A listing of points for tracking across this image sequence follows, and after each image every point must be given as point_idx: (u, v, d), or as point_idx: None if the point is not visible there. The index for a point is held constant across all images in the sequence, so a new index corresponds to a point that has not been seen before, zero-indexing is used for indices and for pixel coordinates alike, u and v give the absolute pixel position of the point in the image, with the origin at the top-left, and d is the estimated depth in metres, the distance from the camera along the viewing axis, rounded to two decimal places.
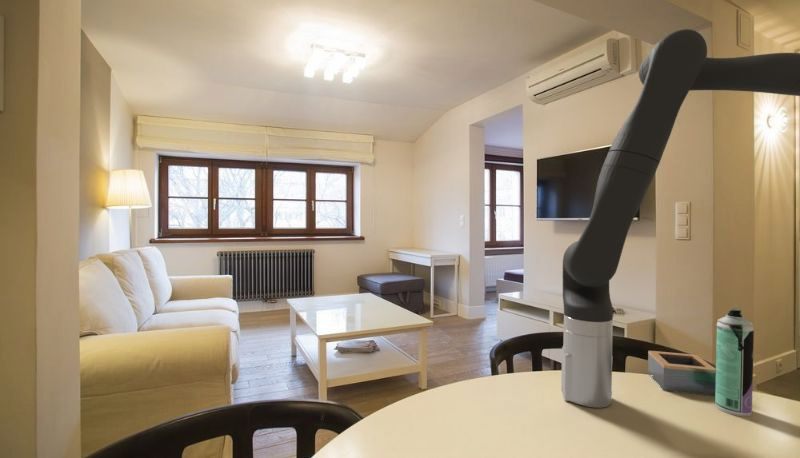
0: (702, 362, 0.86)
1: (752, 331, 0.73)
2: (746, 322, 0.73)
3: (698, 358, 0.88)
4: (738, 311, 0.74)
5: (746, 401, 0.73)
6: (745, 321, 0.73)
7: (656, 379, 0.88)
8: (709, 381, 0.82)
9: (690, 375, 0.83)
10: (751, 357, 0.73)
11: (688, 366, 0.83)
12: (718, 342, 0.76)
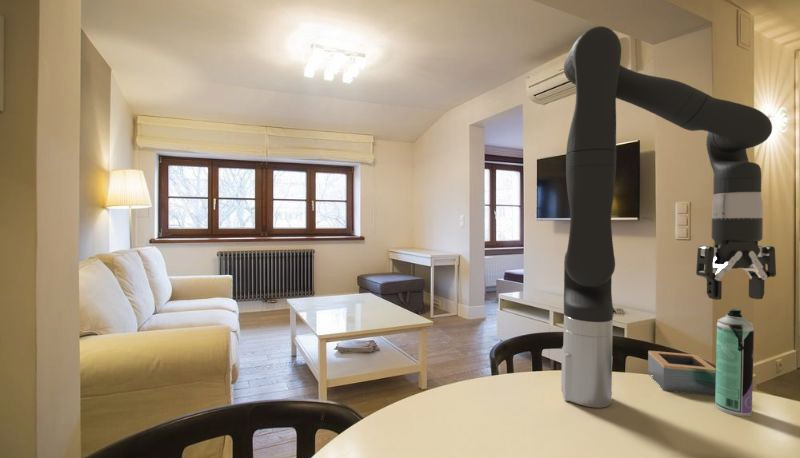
0: (702, 362, 0.86)
1: (752, 331, 0.73)
2: (746, 322, 0.73)
3: (698, 358, 0.88)
4: (738, 311, 0.74)
5: (746, 401, 0.73)
6: (745, 321, 0.73)
7: (656, 379, 0.88)
8: (709, 381, 0.82)
9: (690, 375, 0.83)
10: (751, 357, 0.73)
11: (688, 366, 0.83)
12: (718, 342, 0.76)
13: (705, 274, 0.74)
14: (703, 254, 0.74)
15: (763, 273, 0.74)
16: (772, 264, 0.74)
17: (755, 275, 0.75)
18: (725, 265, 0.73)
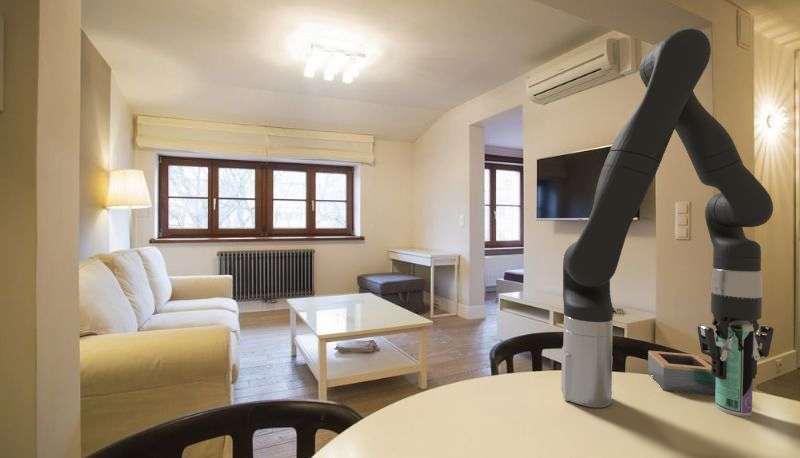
0: (702, 362, 0.86)
1: (752, 331, 0.73)
2: (746, 322, 0.73)
3: (698, 358, 0.88)
4: None
5: (746, 401, 0.73)
6: (745, 321, 0.73)
7: (656, 379, 0.88)
8: (709, 381, 0.82)
9: (690, 375, 0.83)
10: (751, 357, 0.73)
11: (688, 366, 0.83)
12: None
13: (710, 355, 0.74)
14: (704, 335, 0.75)
15: (756, 353, 0.74)
16: (768, 344, 0.74)
17: None
18: (727, 345, 0.73)
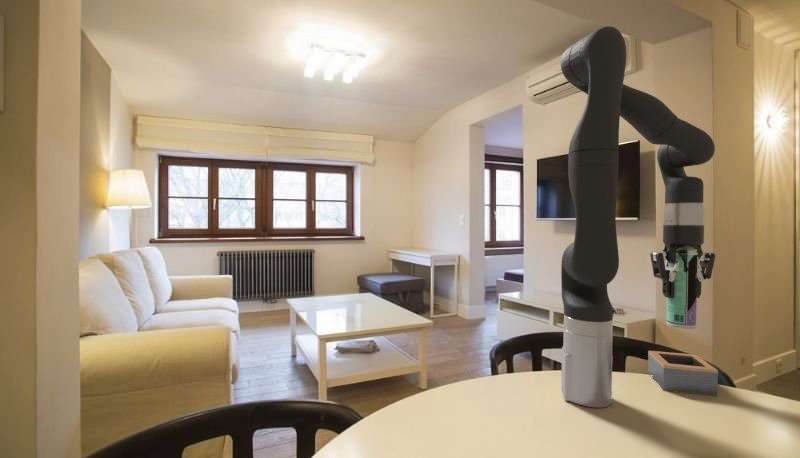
0: (702, 362, 0.86)
1: (696, 255, 0.84)
2: (691, 248, 0.85)
3: (698, 358, 0.88)
4: None
5: (690, 315, 0.84)
6: (690, 247, 0.85)
7: (656, 379, 0.88)
8: (709, 381, 0.82)
9: (690, 375, 0.83)
10: (695, 277, 0.84)
11: (688, 366, 0.83)
12: None
13: (660, 277, 0.86)
14: (655, 260, 0.86)
15: (700, 275, 0.86)
16: (710, 268, 0.86)
17: None
18: (674, 267, 0.85)
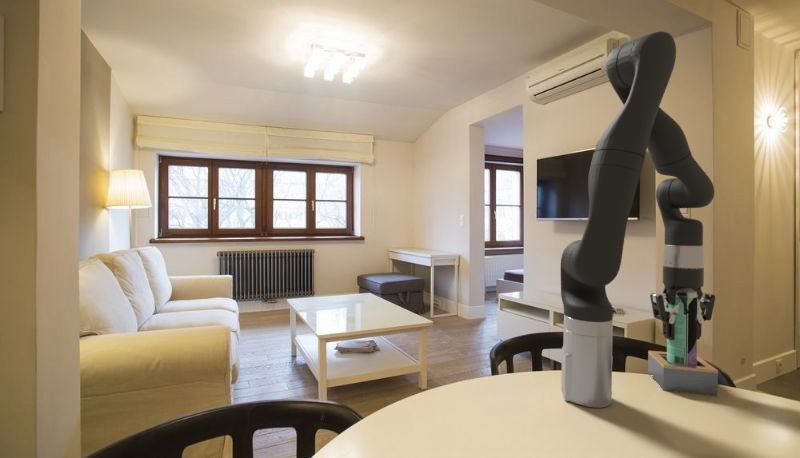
0: (702, 362, 0.86)
1: (696, 297, 0.84)
2: (691, 290, 0.85)
3: (698, 358, 0.88)
4: None
5: (691, 357, 0.84)
6: (690, 289, 0.85)
7: (656, 379, 0.88)
8: (709, 381, 0.82)
9: (690, 375, 0.83)
10: (695, 320, 0.84)
11: (688, 366, 0.83)
12: None
13: (660, 319, 0.86)
14: (655, 301, 0.86)
15: (700, 317, 0.86)
16: (710, 309, 0.86)
17: None
18: (674, 310, 0.85)
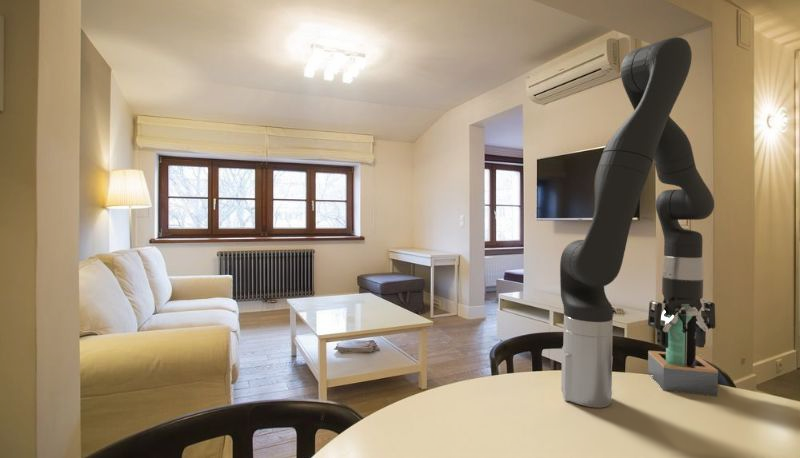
0: (702, 362, 0.86)
1: (694, 316, 0.85)
2: (690, 308, 0.85)
3: (698, 358, 0.88)
4: None
5: None
6: (689, 307, 0.85)
7: (656, 379, 0.88)
8: (709, 381, 0.82)
9: (690, 375, 0.83)
10: (694, 338, 0.85)
11: (688, 366, 0.83)
12: None
13: (654, 326, 0.86)
14: (653, 309, 0.87)
15: (704, 325, 0.86)
16: (712, 317, 0.86)
17: (698, 326, 0.87)
18: (671, 319, 0.85)
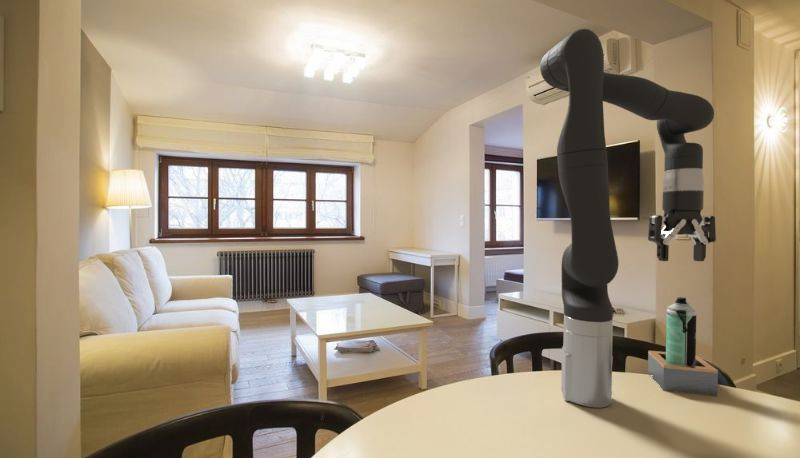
0: (702, 362, 0.86)
1: (694, 316, 0.85)
2: (690, 308, 0.85)
3: (698, 358, 0.88)
4: (683, 299, 0.86)
5: None
6: (689, 307, 0.85)
7: (656, 379, 0.88)
8: (709, 381, 0.82)
9: (690, 375, 0.83)
10: (694, 338, 0.85)
11: (688, 366, 0.83)
12: (667, 326, 0.88)
13: (654, 239, 0.86)
14: (653, 222, 0.86)
15: (704, 239, 0.86)
16: (713, 231, 0.86)
17: (698, 241, 0.87)
18: (671, 231, 0.85)
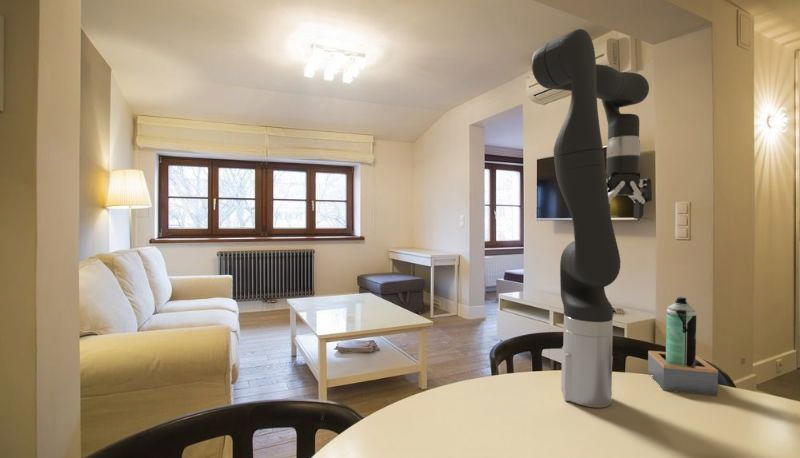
0: (702, 362, 0.86)
1: (694, 316, 0.85)
2: (690, 308, 0.85)
3: (698, 358, 0.88)
4: (683, 299, 0.86)
5: None
6: (689, 307, 0.85)
7: (656, 379, 0.88)
8: (709, 381, 0.82)
9: (690, 375, 0.83)
10: (694, 338, 0.85)
11: (688, 366, 0.83)
12: (667, 326, 0.88)
13: None
14: None
15: (642, 198, 0.98)
16: (649, 191, 0.98)
17: (637, 201, 0.99)
18: (612, 191, 0.97)
